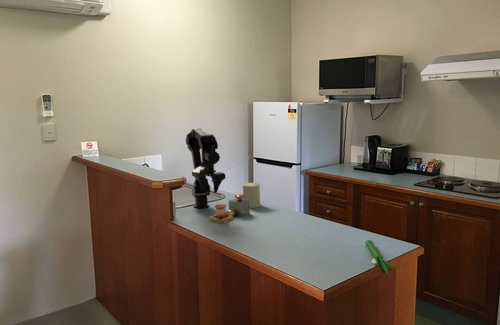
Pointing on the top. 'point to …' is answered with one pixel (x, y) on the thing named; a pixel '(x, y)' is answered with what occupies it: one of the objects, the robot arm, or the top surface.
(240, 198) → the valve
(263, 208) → the top surface
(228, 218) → the socket
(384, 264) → the green onion
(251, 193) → the can
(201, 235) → the top surface
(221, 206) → the stub
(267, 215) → the top surface
